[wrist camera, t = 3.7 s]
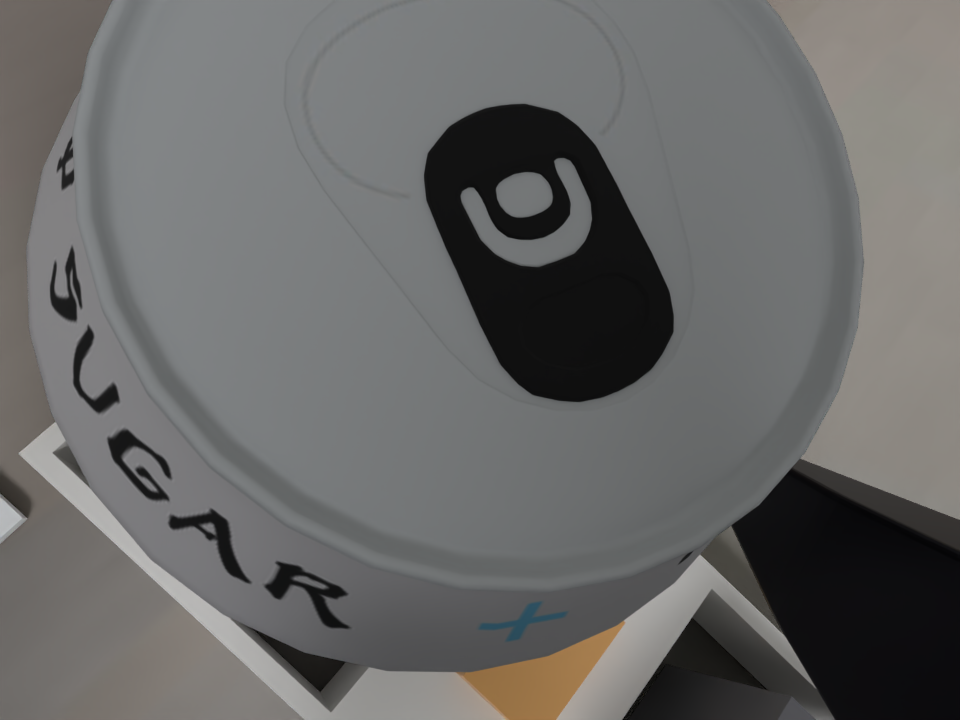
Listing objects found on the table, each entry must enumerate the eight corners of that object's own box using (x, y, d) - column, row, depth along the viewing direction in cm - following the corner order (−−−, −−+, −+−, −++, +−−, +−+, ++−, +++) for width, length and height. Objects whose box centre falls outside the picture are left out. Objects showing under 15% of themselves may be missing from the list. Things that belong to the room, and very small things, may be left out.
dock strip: (875, 773, 21) (977, 807, 18) (710, 1082, 18) (799, 1184, 15) (314, 234, 20) (325, 179, 17) (49, 467, 17) (9, 449, 14)
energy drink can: (382, 302, 20) (692, -290, 6) (482, 524, 19) (1085, 435, 5) (139, 391, 18) (-244, -192, 4) (242, 643, 17) (214, 995, 3)
